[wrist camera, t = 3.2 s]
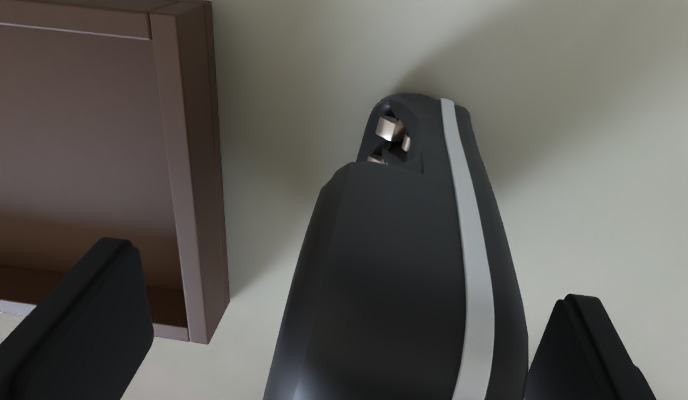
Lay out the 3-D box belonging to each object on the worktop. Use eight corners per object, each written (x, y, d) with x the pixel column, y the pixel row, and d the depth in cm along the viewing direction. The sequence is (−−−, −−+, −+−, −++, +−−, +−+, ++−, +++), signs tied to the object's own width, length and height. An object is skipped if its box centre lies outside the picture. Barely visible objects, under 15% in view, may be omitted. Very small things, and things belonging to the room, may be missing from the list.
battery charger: (361, 66, 16) (264, 310, 6) (474, 98, 16) (568, 395, 6) (316, 236, 19) (210, 565, 9) (409, 262, 19) (398, 616, 9)
